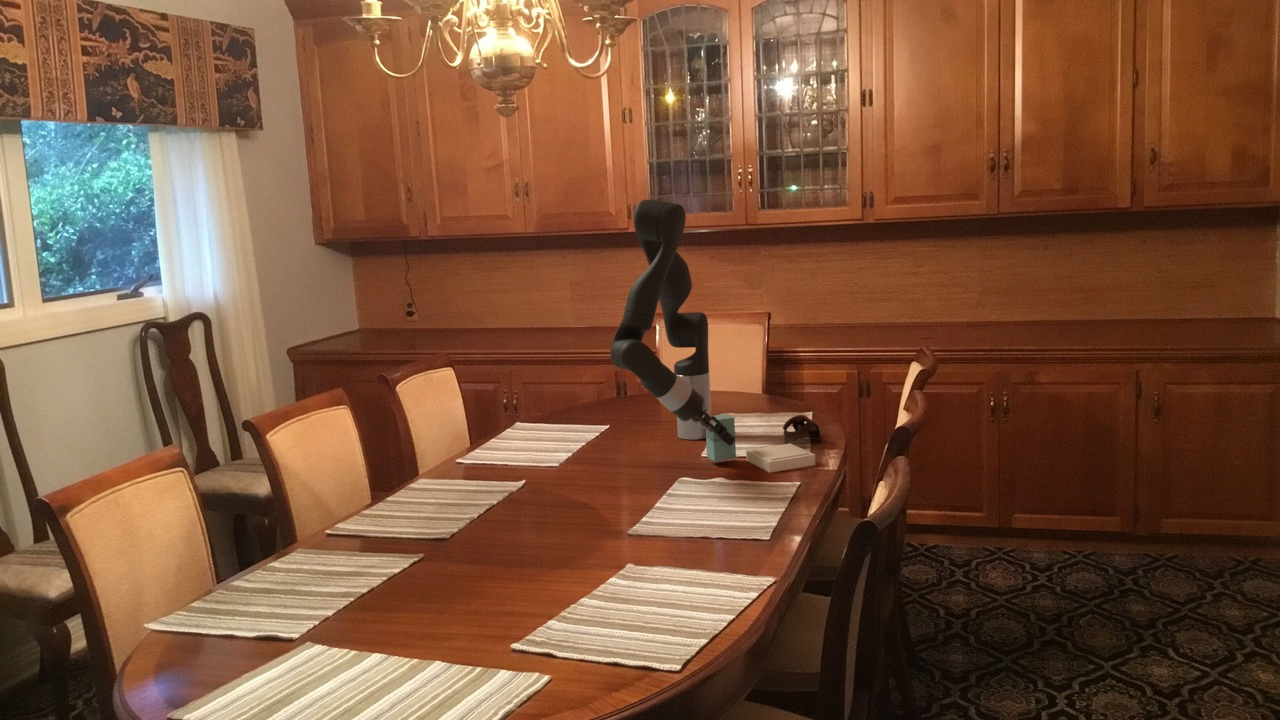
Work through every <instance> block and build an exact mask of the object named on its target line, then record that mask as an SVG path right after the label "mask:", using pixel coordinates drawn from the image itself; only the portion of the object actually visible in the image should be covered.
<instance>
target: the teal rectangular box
mask: <svg viewBox="0 0 1280 720" xmlns="http://www.w3.org/2000/svg"><path fill="white" fill-rule="evenodd" d="M713 416H714V417H716V419H717V420H719V422H720V423H721V424H722V425H723V426H724V427H726V428H727V429H728V430H727V432H729V433H730V434H731V435H732V436H733V437H734V438H735V439H736V428H735V427H736V426H735V424H736V422H735V417H734V416H732V415H729V414H728V413H724V414H718V415H717V414H716V415H713ZM709 428H710V427H709ZM720 429H721V428H720ZM720 429H719V430H720ZM719 430H718V431H719ZM705 439H706V440H705V441H706V443H705V444H706V457H707V458H708V459H709V460H711V461H713V462H721V461H726V460H733V459H736V458H737V452H736V451H737V447H736V440H735V441H734V443H733V444H732V445H731V446H730V445H728V444H727V443H726V442H724V441H723V440H722V439H721V438H720V437H717V435H716V434H715V433H713V432H709V431H707V430H706V438H705Z"/></svg>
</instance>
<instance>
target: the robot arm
mask: <svg viewBox="0 0 1280 720" xmlns="http://www.w3.org/2000/svg"><path fill="white" fill-rule="evenodd" d="M686 216H687V215H686V211H685V209H684V207H683V205H681V204H679V203H676V202H675V203H674V202H671V201H669V202H668V201H664V200H663V201H662V200H656V199H649V198H648V199H642V200H641V201H640V202H639V203H638V204H636V206H635V208H634V214H633V227H634V230H635V233H636V237H637V240H638V241H639V243H640V245H641V248H642V250H643V252H644V255H645V258H646V260H647V263H648V266H647V268H646V269H645V270H644V271H643V272H642V273H641V274H640V275H639V276H638V278H637V279H636V280H635V281H634V283H633V284H632V285H631V287H630V288H629V289H630V290H629V292H628V295H627V299H626V303H625V306H624V311H623V315H622V316H623V317H622V320H621V322H620V324H619V325H618V327H617V329H616V333H615V334H614V336H613V339H612V342H611V346H610V351H609V352H610V353H609V354H610V360H611V362H612V364H613V365H614V366H615V367H617V368H618V369H622V370H628V371H630V372H631V373H633V374H634V375H635V376H636V377H637V378H638V379H639V380H640V383H641V386H643V387H644V388H645V390H647V391H648V392H649V393H651V395H652V396H654V397H655V398H656V399H657V400H658V401H659V402H660V404H661V405H663V406H664V407H665V408H666V409H667V410H668V411H670V412H671V413H672V414H673V415H675V416H676V425H677V427H676V429H677V437H678V438H679V439H683V440H701V439H706V430H707V431H709V432H713V433H715V434H716V435H717V437H720V438H721V439H722V440H723V441H724V442H726V443H727V444H728V445H730V446H731V445H732V444H733V443H734V441H735V442H736V437H735V438H734V437H733V436H732V435H731V434H730V433H729V432H727V430H728V429H727V428H726V427H724V426H723V425H722V424H721V423H720V422H719V420H717V419H716V417H714V416H715V415H713V414H712V406H711V405H712V402H711V382H710V367H709V366H710V363H709V321H708V317H707V315H706V314H705V313H704V312H702V311H699V312H698V311H697V312H695V311H694V312H693V311H692V312H690V311H689V312H679V310H680V309H681V307H682V306H683V304H684V303H685V302H686V301H687V299H688V298H689V296H690V294H691V291H692V287H693V282H692V278H691V273H690V272H691V271H690V268H689V266H688V264H687V262H686V260H685V259H684V258H683V257H682V256H681V255H680V254H679V252H678V251H677V250H678V248H679V246H680V242H681V240H682V237H683V234H684V230H685V226H686V221H687V219H686V218H687V217H686ZM658 304H660V308H661V312H662V317H663V323H664V330H665V333H666V338H667V341H668V343H669V345H670V346H671V347H673V348H678V349H680V348H682V349H683V348H684V349H685V348H686V349H688V348H695V351H694V352H693V354H691V355H690V356H688V357H685V358H682V359H680V360H677V361H676V362H675V363H674V365H673V371H674V372H673V371H672V370H671V369H670V368H669V367H668V366H667V365H665V364H664V363H662V361H661V360H660V358H659V357H658V356H657V355H656V353H655V352H654V351H653V350H652V349H651V348H650V347H649V346H648V345H647V344H646V343H644V342H643V338H644V335H645V333H646V332H647V331H649V330H650V329H652V326H653V323H654V319H655V317H656V316H655V315H656V311H657V308H658ZM709 427H710V428H709ZM720 428H721V429H720ZM719 429H720V430H719ZM718 430H719V431H718Z"/></svg>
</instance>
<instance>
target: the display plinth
mask: <svg viewBox="0 0 1280 720" xmlns="http://www.w3.org/2000/svg"><path fill="white" fill-rule="evenodd" d="M745 455H746V457H745V459H746V461H747V462H749V463H750V464H752V465H754V466H756V467H757V468H760V469H761V470H764V471H766V472H768V473H769V474H771V473H777V472H781V471H788V470H793V469H800V468H804V467H805V468H806V467H810V466H811V467H812V466H816V454H814V453H812V452H810V451H808V450H805V449H804V448H801V447H799V446H797V445H795V444H792V443H787V444H785V443H784V444H778V445H773V446H768V447H767V446H765V447H760V448H753V449H747V450H745Z"/></svg>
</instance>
